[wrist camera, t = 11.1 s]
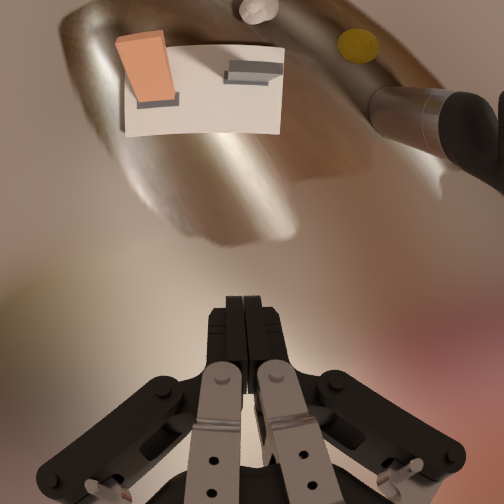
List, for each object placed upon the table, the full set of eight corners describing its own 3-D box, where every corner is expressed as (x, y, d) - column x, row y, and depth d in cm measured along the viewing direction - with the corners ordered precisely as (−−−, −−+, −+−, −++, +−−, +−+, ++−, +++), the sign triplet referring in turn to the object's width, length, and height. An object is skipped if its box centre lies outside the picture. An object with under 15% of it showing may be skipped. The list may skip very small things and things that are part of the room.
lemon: (366, 64, 34) (392, 60, 27) (334, 67, 34) (357, 62, 27) (357, 33, 31) (382, 24, 24) (325, 35, 31) (346, 23, 25)
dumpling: (272, 31, 31) (277, 24, 28) (236, 26, 30) (237, 19, 27) (277, -7, 28) (282, -16, 24) (242, -11, 27) (244, -21, 24)
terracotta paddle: (175, 92, 33) (162, 30, 21) (174, 99, 33) (160, 36, 21) (140, 95, 32) (117, 36, 20) (138, 102, 32) (114, 43, 20)
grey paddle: (265, 74, 32) (283, 63, 22) (265, 82, 33) (282, 74, 22) (227, 72, 32) (229, 60, 21) (227, 81, 32) (228, 71, 22)
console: (281, 50, 33) (284, 47, 31) (277, 132, 39) (279, 134, 37) (130, 54, 30) (125, 52, 29) (129, 135, 37) (125, 137, 35)
